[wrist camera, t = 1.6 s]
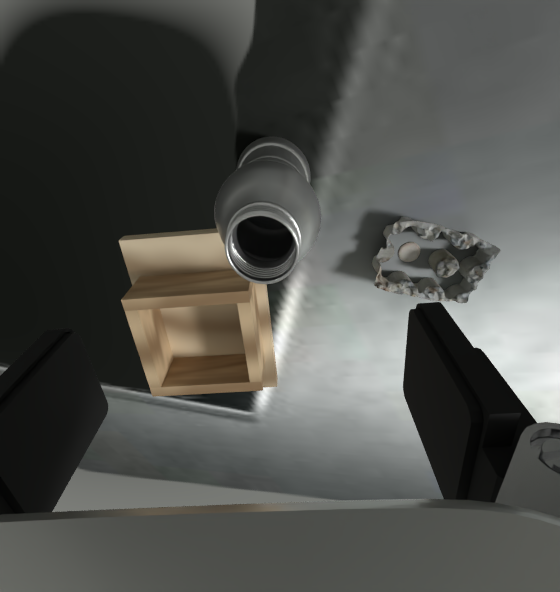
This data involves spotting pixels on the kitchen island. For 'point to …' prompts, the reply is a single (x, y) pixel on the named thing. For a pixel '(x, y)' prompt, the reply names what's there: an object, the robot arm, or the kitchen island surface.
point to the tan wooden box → (196, 316)
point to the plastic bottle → (268, 211)
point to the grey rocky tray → (435, 263)
